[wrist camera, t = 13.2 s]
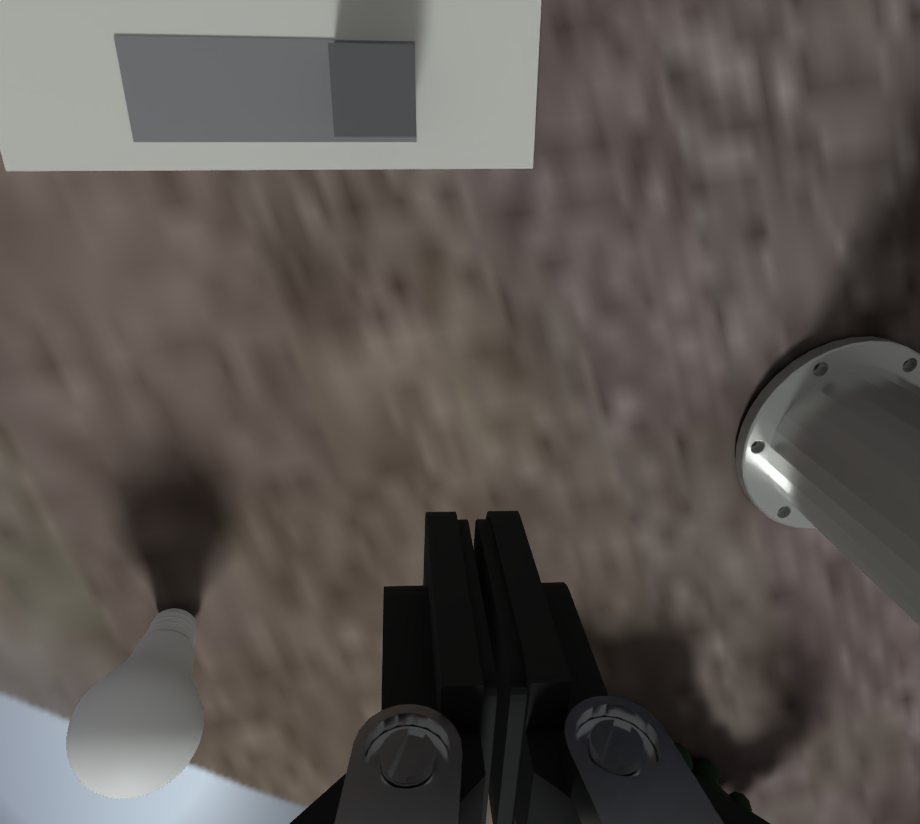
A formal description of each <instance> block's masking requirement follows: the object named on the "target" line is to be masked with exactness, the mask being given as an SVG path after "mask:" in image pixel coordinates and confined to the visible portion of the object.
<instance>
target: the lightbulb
mask: <svg viewBox="0 0 920 824" xmlns="http://www.w3.org/2000/svg"><path fill="white" fill-rule="evenodd" d="M196 630H197V622H196V620H195V618H194V617H193V616H192V615H191V614H190V613H189V612H187V611H185V610H182V609H177V608H172V609H167V610H164V611H162V612H160V613H159V614H157V615H156V616H155V618H154V620H153V622H152V624H151V625H150V627H149V629H148V631H147V633H146V635H145V636H143V637H142V638H141V639H140V641H139V642H138V644H137V646H136V648H135V650H134V651H133V653H132V654H131V655H130V657H129V658H128V659H127V660H126V661H125V662H124V663H123V664H122V665H120V666H119V667H117V668H116V669H114V670H112V671H111V672H110V673H108V674H107V675H106V676H104V677H103V678H102V679H100V680H99V681H98V682H96V683H95V684H94V685H93V686H92V687H91V688H90V689H89V690H88V691H87V693H86V694H85V695H84V696H83V697H82V699H81V700H80V701H79V702H78V705H77V707H76V709H75V711H74V713H73V715H72V717H71V719H70V723H69V728H68V732H67V738H66V739H67V742H66V749H67V755H68V759H69V762H70V765H71V768H72V770H73V772H74V773H75V775H76V776H77V778H78V779H79V781H80V782H81V783H82V784H83V785H84V786H85V787H87V788H88V789H90V790H91V791H93V792H95V793H97V794H99V795H102V796H105V797H109V798H116V799H128V798H135V797H141V796H144V795H148V794H150V793H152V792H154V791H156V790H158V789H160V788H162V787H163V786H165V785H166V784H168V783H169V782H170V781H171V780H173V779H174V778H175V777H176V776H177V775H179V774H180V773H181V772H182V770H183V769H184V768H185V767H186V766H187V764H188V763H189V761H190V760H191V758H192V757H193V755H194V753H195V751H196V749H197V747H198V745H199V743H200V739H201V735H202V731H203V727H204V712H203V705H202V701H201V698H200V695H199V692H198V689H197V686H196V684H195V682H194V680H193V675H192V663H193V659H194V646H193V644H194V640H195V635H196Z"/></svg>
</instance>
